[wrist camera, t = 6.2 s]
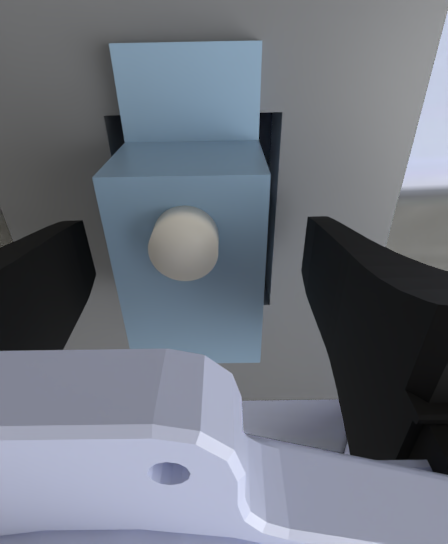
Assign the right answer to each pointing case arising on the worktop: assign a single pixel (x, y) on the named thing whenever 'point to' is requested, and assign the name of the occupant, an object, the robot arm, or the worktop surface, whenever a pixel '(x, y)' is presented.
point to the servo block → (188, 197)
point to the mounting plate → (273, 98)
